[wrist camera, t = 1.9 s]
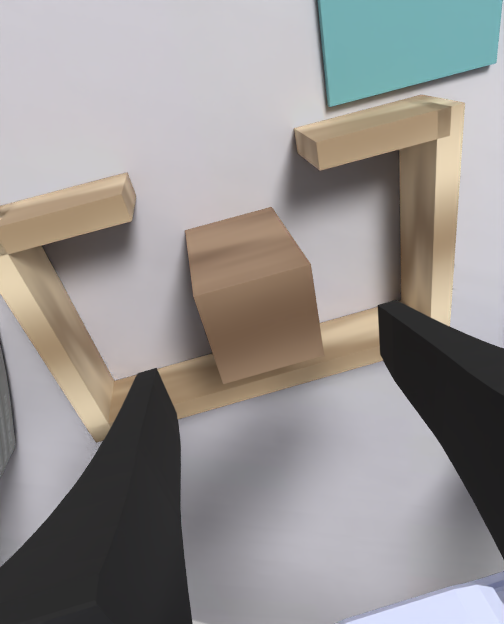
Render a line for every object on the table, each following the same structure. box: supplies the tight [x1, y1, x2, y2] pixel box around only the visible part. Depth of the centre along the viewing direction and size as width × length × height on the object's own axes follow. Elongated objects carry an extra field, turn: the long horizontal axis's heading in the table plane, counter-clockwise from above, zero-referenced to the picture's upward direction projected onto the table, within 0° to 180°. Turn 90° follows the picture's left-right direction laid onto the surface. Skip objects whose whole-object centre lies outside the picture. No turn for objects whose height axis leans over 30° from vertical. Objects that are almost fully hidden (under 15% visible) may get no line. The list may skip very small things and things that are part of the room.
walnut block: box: [185, 207, 324, 384], centre depth 17 cm, size 4×4×6 cm
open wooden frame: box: [0, 95, 465, 443], centre depth 19 cm, size 11×18×3 cm, turn 102°
